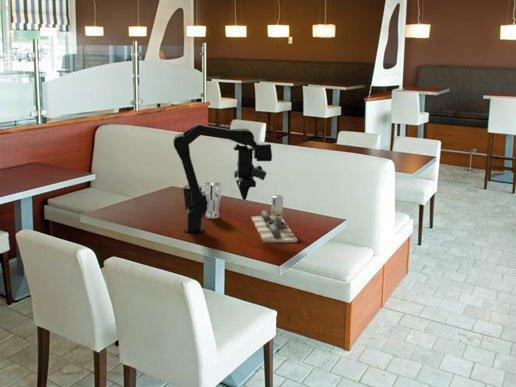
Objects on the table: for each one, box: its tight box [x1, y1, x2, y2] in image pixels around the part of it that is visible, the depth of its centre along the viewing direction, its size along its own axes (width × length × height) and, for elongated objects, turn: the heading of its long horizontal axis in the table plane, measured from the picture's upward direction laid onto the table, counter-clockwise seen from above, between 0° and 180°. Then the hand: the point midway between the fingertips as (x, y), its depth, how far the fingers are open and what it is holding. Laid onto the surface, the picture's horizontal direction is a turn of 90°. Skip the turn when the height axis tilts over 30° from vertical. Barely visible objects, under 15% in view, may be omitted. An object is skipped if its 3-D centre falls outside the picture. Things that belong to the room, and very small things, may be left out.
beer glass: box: [204, 181, 222, 220], centre depth 250 cm, size 7×7×15 cm
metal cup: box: [270, 194, 284, 226], centre depth 236 cm, size 5×5×13 cm
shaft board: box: [250, 210, 298, 244], centre depth 237 cm, size 32×13×4 cm, turn 10°
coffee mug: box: [182, 184, 203, 210], centre depth 262 cm, size 12×9×10 cm
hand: (244, 199), depth 232 cm, fingers closed
